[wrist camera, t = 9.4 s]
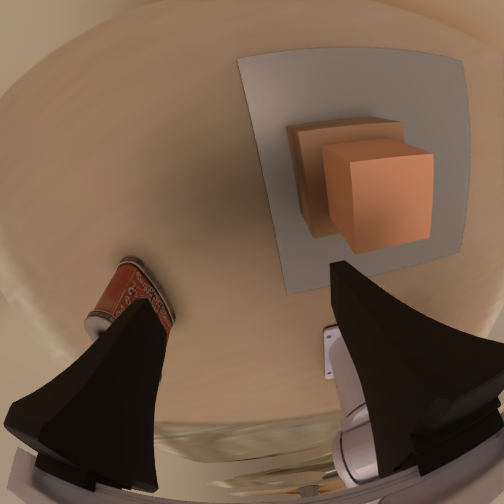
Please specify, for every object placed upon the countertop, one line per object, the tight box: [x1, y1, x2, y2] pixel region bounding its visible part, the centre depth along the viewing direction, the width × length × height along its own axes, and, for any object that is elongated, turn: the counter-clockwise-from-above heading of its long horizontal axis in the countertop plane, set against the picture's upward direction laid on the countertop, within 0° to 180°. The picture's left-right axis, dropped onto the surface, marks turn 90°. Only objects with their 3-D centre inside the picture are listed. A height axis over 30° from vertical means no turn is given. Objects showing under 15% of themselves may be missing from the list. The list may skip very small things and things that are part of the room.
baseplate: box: [237, 47, 471, 295], centre depth 17 cm, size 18×18×1 cm
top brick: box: [321, 138, 434, 255], centre depth 12 cm, size 4×4×4 cm
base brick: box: [286, 117, 404, 239], centre depth 15 cm, size 6×6×4 cm
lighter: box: [84, 256, 176, 385], centre depth 19 cm, size 8×3×10 cm, turn 17°
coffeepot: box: [299, 485, 318, 498], centre depth 74 cm, size 15×9×18 cm, turn 77°
